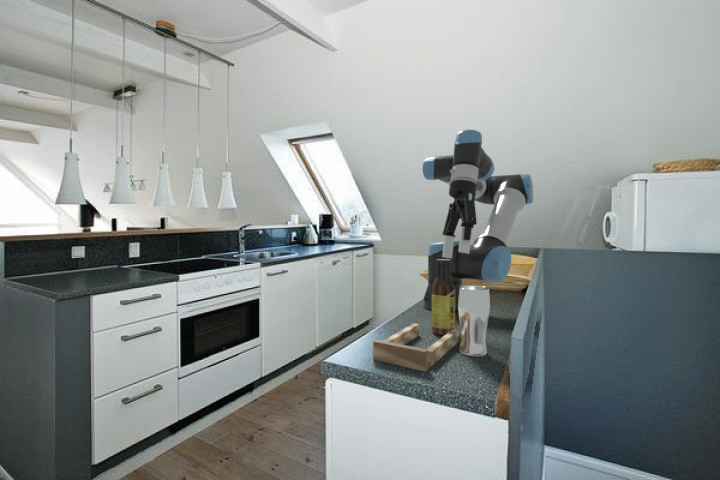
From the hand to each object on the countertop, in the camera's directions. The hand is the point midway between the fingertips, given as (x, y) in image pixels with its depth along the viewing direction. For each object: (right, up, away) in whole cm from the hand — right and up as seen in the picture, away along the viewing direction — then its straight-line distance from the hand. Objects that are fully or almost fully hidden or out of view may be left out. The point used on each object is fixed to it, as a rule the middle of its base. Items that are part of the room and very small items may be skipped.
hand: (454, 255), depth 104 cm
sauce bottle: (-4, -21, -3) cm, 22 cm away
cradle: (-13, -21, -17) cm, 31 cm away
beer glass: (-1, -22, -18) cm, 28 cm away
